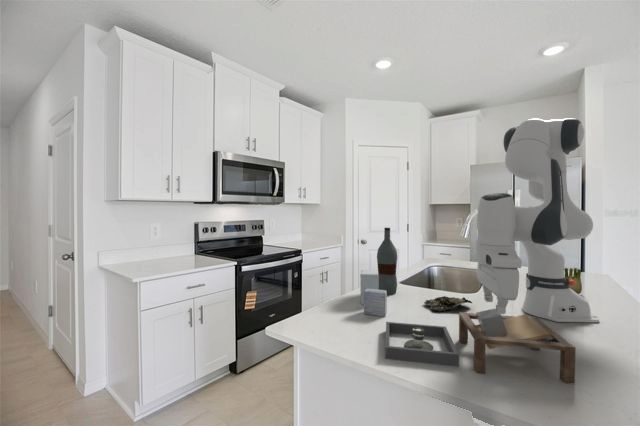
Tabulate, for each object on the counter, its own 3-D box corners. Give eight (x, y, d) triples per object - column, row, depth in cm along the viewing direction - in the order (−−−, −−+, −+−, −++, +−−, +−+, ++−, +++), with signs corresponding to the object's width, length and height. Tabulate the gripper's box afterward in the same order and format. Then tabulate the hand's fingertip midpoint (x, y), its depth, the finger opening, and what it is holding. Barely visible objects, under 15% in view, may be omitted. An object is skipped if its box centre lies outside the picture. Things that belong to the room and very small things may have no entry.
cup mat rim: (445, 336, 94) (445, 326, 94) (458, 366, 77) (458, 354, 76) (386, 330, 98) (386, 321, 98) (385, 358, 81) (385, 347, 80)
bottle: (392, 289, 146) (392, 226, 145) (400, 294, 137) (401, 228, 136) (373, 290, 145) (374, 227, 144) (380, 295, 136) (381, 228, 135)
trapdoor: (533, 325, 85) (529, 313, 85) (558, 346, 72) (553, 332, 72) (477, 337, 88) (473, 325, 88) (492, 359, 75) (488, 346, 75)
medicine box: (386, 313, 114) (387, 290, 114) (385, 317, 110) (385, 293, 110) (365, 310, 117) (366, 288, 117) (363, 314, 113) (363, 291, 113)
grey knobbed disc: (450, 352, 83) (450, 334, 83) (411, 359, 80) (411, 340, 80) (423, 334, 95) (423, 319, 95) (388, 339, 91) (388, 323, 91)
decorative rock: (439, 305, 112) (414, 291, 126) (439, 321, 112) (414, 305, 127) (480, 297, 117) (452, 285, 132) (479, 312, 118) (451, 298, 132)
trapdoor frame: (536, 347, 87) (536, 318, 87) (574, 384, 69) (575, 347, 69) (458, 339, 92) (459, 312, 91) (475, 372, 74) (476, 338, 73)
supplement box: (378, 300, 130) (378, 270, 130) (378, 305, 123) (378, 274, 122) (360, 299, 131) (361, 269, 131) (360, 304, 124) (360, 273, 124)
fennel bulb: (562, 292, 141) (563, 267, 141) (568, 291, 143) (569, 266, 143) (577, 296, 136) (578, 269, 135) (583, 294, 138) (584, 268, 137)
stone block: (500, 326, 83) (494, 308, 83) (507, 333, 78) (501, 314, 78) (481, 330, 84) (475, 312, 84) (487, 337, 79) (480, 319, 79)
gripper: (471, 248, 91) (470, 294, 92) (494, 261, 71) (493, 319, 72) (494, 249, 90) (494, 296, 90) (525, 262, 70) (523, 322, 70)
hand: (494, 306), depth 81 cm, fingers open, 8 cm apart
